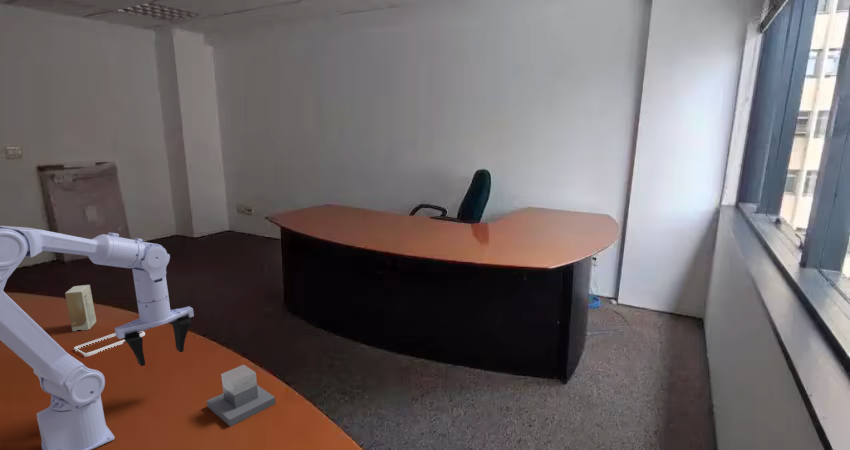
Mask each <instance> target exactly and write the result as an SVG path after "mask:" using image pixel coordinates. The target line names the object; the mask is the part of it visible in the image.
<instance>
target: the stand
mask: <svg viewBox="0 0 850 450" xmlns="http://www.w3.org/2000/svg"><path fill="white" fill-rule="evenodd" d="M257 390H258V398H257V399H255V400H253V401H251V402H249V403H247V404H245V405H243V406H240V407H238V408H236V409H235V408H234V407H233V406H231V405H230V404H229V403H228V402H226V401H225V400H224V394H223V393H221V394H218V395H216V396H214V397H212V398H209V399H208V400H206V406H207V408H208V409H210V410H211V412H213V413H214V414H215V415H216V416H217V417H218V418H220V419H221V420H222V422H224V423H225V424H227V425H228V426H229V427H232V426H234V425H236V424H238V423H240V422H243V421H244V420H246V419H248V418H250V417H252V416H254V415H256V414H257V413H259V412H262V411H264V410H265V409H267V408H269V407H271V406H273V405H276V404H277V403H276V397H275V396H274V395H273V394H271V393H270V392H268V391H267V390H265V389H264V388H263V387H261V386H259V385H258V384H257Z"/></svg>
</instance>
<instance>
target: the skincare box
mask: <svg viewBox="0 0 850 450" xmlns="http://www.w3.org/2000/svg"><path fill="white" fill-rule="evenodd" d="M64 294H65V295H64V296H65V300H66V305H67V311H68V316H69V321H70V326H71V331H72V332H78V331H77V330H82V331H88V329H89V330H90V329H91V328H92V327H93V326H94V325H95V324H96V323H97V317H96V312H95V307H94V301H93V295H92V289H91V284H83V285H75V286H72V287H71V288H70V289H68V290H67V291H65V293H64Z"/></svg>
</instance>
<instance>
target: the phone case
mask: <svg viewBox="0 0 850 450" xmlns="http://www.w3.org/2000/svg"><path fill="white" fill-rule="evenodd" d="M138 334H139V335H140V337H141V338H142V337H145V336H146V332H145V331H144V330H143V331H140V332H138ZM113 337H116V332H113V333H111V334H107V335H105V336H102V337H99V338H96V339H94V340H90V341H88V342H85V343H82V344H79V345H75V346H74V347H73V351H74V350H75V351H74V352H79V353H80V354H82V355H83V357H84V358H86V357H90V356H93V355H96V354H99V353H100V351H101V352H103V350H104V351H106V350H105V349H107V350H109V349H108V348H110V349H112V348H114V346H115V347H117V345H118V346H119V345H123V344H124V342H126V341H125V340H124V339H123V340H119V341H116V342H114V343H111V344H109V345H105V346H103V347H100V348H97V349H95V350H92V351H88V352H84V351H82V350H80V349H82V348H84V347H83V346H85V347H87V346H86V345H88V346H90V345H89V344H91V345H93V344H92V343H94V344H96V343H95V342H97V343H99V342H102V341H105V340H107V338H108V339H111V338H113ZM104 339H105V340H104ZM101 340H102V341H101ZM98 341H99V342H98ZM81 347H82V348H81ZM111 347H112V348H111ZM78 348H79V349H78ZM98 352H99V353H98Z"/></svg>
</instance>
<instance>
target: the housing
mask: <svg viewBox="0 0 850 450" xmlns="http://www.w3.org/2000/svg"><path fill="white" fill-rule="evenodd" d="M220 377H221V383H222V394H224V400H225V401H226V402H228V403H229V404H230V405H231V406H233V407H234V408H235V409H236V408H238V407H240V406H243V405H245V404H247V403H249V402H251V401H253V400H255V399H257V398H258V390H257V385H258V383H257V382H258V381H257V373H256V372H255V370H254V369H251V368H250V367H249V366H247V365H245V364H241V365H239V366H237V367H235V368H233V369H230V370H228V371H225V372H223V373H221V376H220Z"/></svg>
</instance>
